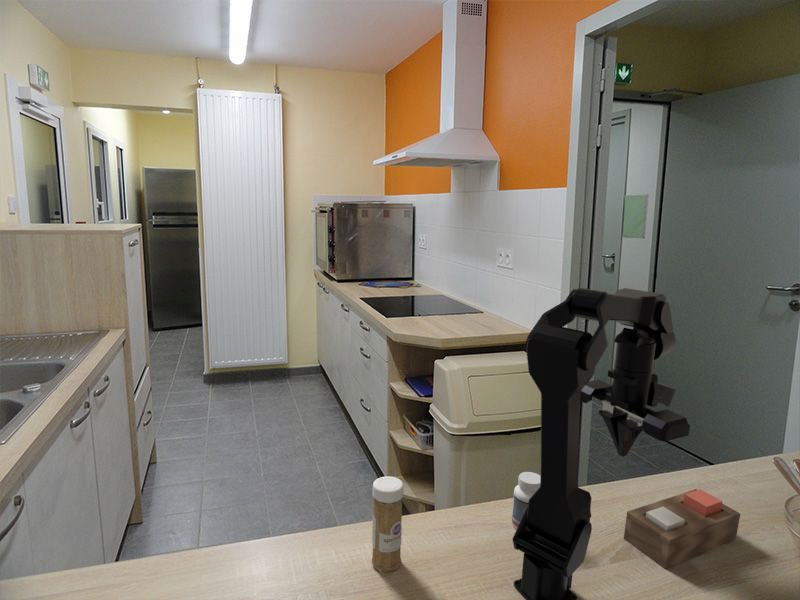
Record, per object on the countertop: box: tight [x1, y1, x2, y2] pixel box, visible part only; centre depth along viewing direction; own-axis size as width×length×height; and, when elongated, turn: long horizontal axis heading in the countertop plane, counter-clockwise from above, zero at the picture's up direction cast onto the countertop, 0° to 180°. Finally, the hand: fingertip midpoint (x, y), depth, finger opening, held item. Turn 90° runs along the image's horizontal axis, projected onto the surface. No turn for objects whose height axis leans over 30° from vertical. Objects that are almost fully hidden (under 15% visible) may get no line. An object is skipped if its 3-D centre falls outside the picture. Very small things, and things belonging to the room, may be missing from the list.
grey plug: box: [646, 507, 685, 531], centre depth 88 cm, size 4×4×5 cm
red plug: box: [683, 489, 723, 517], centre depth 92 cm, size 4×4×5 cm
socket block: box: [623, 488, 741, 570], centre depth 90 cm, size 17×8×5 cm, turn 116°
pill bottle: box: [510, 471, 541, 530], centre depth 93 cm, size 5×5×9 cm
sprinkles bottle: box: [371, 476, 404, 573], centre depth 82 cm, size 5×5×13 cm
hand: (622, 455), depth 92 cm, fingers closed
